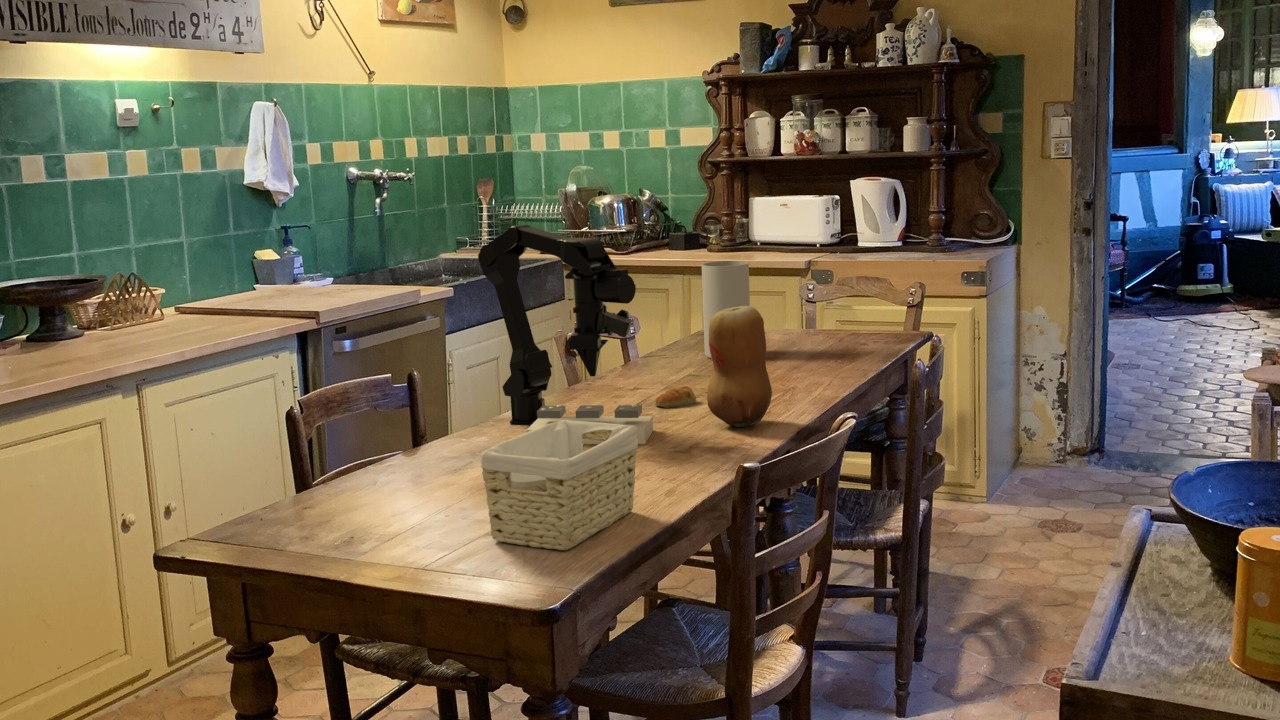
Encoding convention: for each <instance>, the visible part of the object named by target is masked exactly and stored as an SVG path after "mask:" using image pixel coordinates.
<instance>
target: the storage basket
mask: <svg viewBox="0 0 1280 720" xmlns="http://www.w3.org/2000/svg"><path fill="white" fill-rule="evenodd" d="M582 438H583V439H589V440H591V439H592V440H599V441H604V442H603V443H601V444H596V445H595V446H593V447H591V448H589V449H587V450H585V449H584V444H583V439H582ZM638 446H639V444H638V440H637V427H636V426H634V425H620V424H609V423H598V422H582V421H569V420H561V421H559V422H554V423H550V424H547V425H544V426H541V427H539V428H536V429H534V430H531V431H529V432H527V431H526V432H525V433H522V434H519V435H518V436H515V437H513V438H509V439H508V440H507V439H506V440H505V441H502V442H500V443H498V444H495V445H493V446H492V447H490V448H488V449H487V450H485V451H484V452H483V453H481V456H480V457H481V460H480V462H481V465H480V466H481V468H482V479H483V481H484V487H485V491H486V502H487V503H486V504H487V506H488V507H487V508H488V516H489V524H490V530H491V534H490V536H491V537H492V539H493V540H494V541H497V542H502V543H503V542H504V543H507V544H513V545H514V544H516V545H518V546H530V547H532V548H544V549H548V550H553V549H554V550H557V551H558V550H559V551H567V550H570V549H572V548H573V547H575V546H577V545H578V544H580V543H582V542H584V541H585V540H586V539H588V538H590V537H593V535H594V534H597V532H600V531H602V530H603V529H606V528H608V527H610V526H611V525H612V524H614V522H617V521H618V520H619V519H621V518H622V517H626V515H627V514H629V513H630V512H632V511H633V509H634V493H635V483H636V480H635V476H636V461H637V456H636V455H637V451H638Z"/></svg>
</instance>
